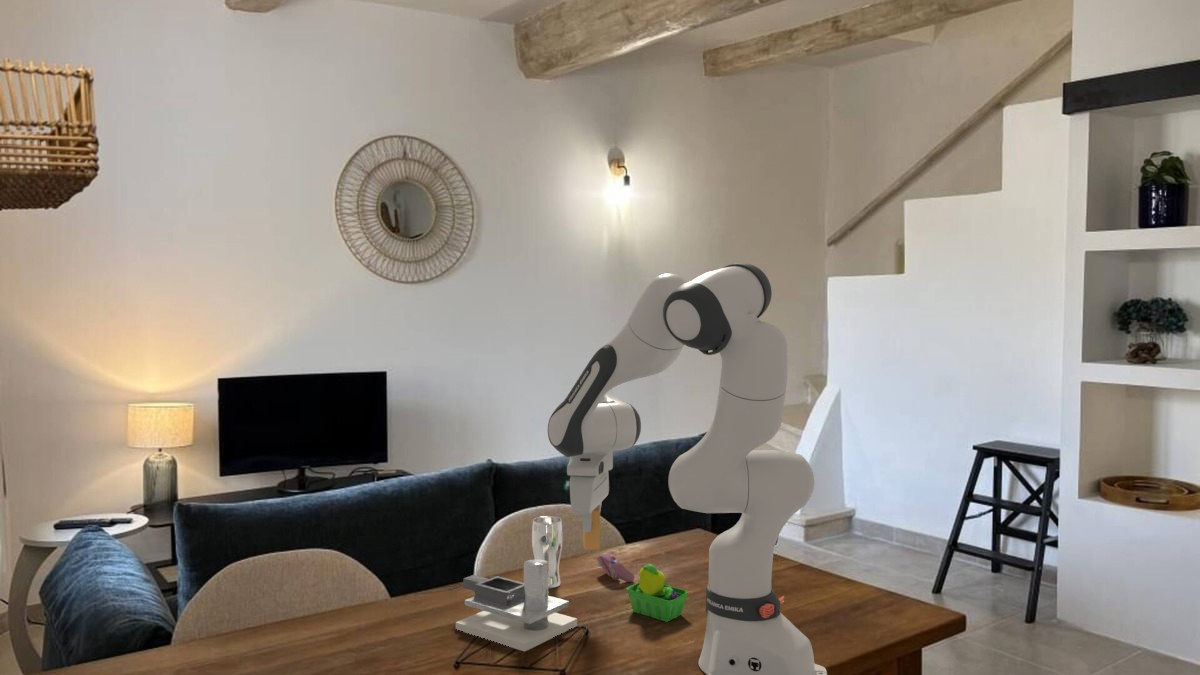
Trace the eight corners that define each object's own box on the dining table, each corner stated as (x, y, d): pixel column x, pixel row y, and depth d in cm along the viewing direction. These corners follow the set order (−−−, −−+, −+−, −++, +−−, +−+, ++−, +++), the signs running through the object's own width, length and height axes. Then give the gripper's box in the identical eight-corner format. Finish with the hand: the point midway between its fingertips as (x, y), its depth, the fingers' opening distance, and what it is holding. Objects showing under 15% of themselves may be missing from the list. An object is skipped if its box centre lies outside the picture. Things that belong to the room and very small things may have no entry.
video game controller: (602, 578, 215) (590, 554, 213) (617, 568, 216) (606, 543, 214) (621, 591, 206) (609, 566, 204) (637, 580, 207) (625, 555, 206)
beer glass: (558, 590, 201) (558, 524, 200) (528, 588, 203) (528, 522, 202) (565, 580, 208) (565, 516, 207) (536, 578, 209) (536, 515, 209)
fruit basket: (690, 615, 187) (691, 561, 186) (665, 627, 180) (666, 571, 179) (646, 602, 194) (646, 551, 193) (620, 614, 187) (621, 560, 186)
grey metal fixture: (569, 621, 179) (569, 559, 178) (529, 639, 169) (529, 574, 168) (488, 598, 191) (488, 540, 191) (447, 614, 182) (447, 553, 181)
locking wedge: (600, 549, 184) (599, 510, 183) (585, 550, 183) (585, 511, 183) (596, 543, 189) (596, 505, 188) (582, 543, 188) (582, 505, 188)
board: (577, 625, 180) (577, 618, 180) (524, 651, 167) (524, 643, 167) (509, 606, 191) (509, 599, 191) (455, 629, 178) (455, 622, 178)
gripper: (587, 451, 196) (587, 514, 197) (564, 468, 176) (564, 538, 177) (615, 452, 195) (615, 516, 195) (596, 469, 175) (595, 540, 175)
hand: (591, 526), depth 186 cm, fingers closed on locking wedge, 6 cm apart
